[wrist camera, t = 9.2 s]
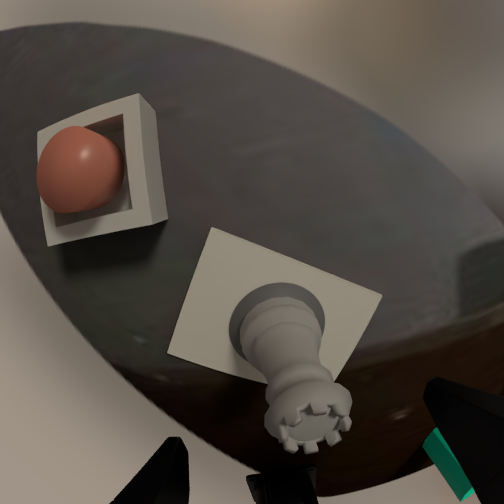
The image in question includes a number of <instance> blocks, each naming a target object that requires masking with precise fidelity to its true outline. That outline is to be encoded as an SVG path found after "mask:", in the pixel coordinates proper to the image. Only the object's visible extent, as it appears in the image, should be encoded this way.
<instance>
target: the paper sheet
mask: <svg viewBox="0 0 504 504" xmlns="http://www.w3.org/2000/svg"><path fill="white" fill-rule="evenodd" d="M278 297H290V298H293V299H296V300H299V301H303V302H304V303H305V304H306V305H307V306H308V307H309V308H310V309H311V310H313V312H314V314H315V317H316V318H317V320H318V323H319V326H320V328H321V331H322V338H321V348H320V349H319V355H318V356H319V359H320V363H321V365H323V366H324V367H325V368H327V369H328V370H329V371H330V372H331V374H332V377H333V379H334V381H335V379H336V378H337V376H338V374H339V373H340V371H341V370H342V368H343V366H344V365H345V363H346V362H347V360H348V358H349V357H350V355H351V353H352V352H353V350H354V348H355V346H356V345H357V343H358V341H359V339H360V338H361V336H362V334H363V332H364V330H365V329H366V327H367V325H368V323H369V321H370V319H371V317H372V315H373V314H374V312H375V310H376V308H377V306H378V304H379V302H380V300H381V298H382V295H381V294H379V293H376V292H374V291H372V290H369V289H367V288H364V287H362V286H359V285H357V284H354V283H352V282H349V281H347V280H344V279H342V278H340V277H337V276H335V275H332V274H330V273H327V272H325V271H322V270H320V269H317V268H315V267H312V266H310V265H307V264H305V263H302V262H300V261H297V260H295V259H292V258H290V257H287V256H285V255H282V254H280V253H277V252H275V251H272V250H269V249H267V248H264V247H262V246H259V245H257V244H254V243H252V242H249V241H247V240H244V239H242V238H239V237H236V236H234V235H231V234H229V233H226V232H224V231H221V230H219V229H216V228H213V227H212V228H211V230H210V233H209V235H208V238H207V240H206V243H205V246H204V248H203V251H202V254H201V256H200V259H199V262H198V264H197V267H196V270H195V273H194V275H193V278H192V281H191V284H190V287H189V289H188V292H187V295H186V298H185V301H184V304H183V307H182V310H181V312H180V315H179V318H178V321H177V324H176V327H175V330H174V333H173V336H172V339H171V343H170V346H169V349H168V352H167V353H168V354H171V355H174V356H177V357H179V358H182V359H185V360H188V361H191V362H194V363H197V364H200V365H203V366H206V367H209V368H212V369H215V370H218V371H222V372H225V373H228V374H232V375H235V376H239V377H243V378H246V379H250V380H254V381H258V382H262V383H266V384H268V383H267V380H266V378H265V376H264V374H262V373H261V372H260V371H258V370H257V369H256V368H254V367H253V366H251V365H250V363H249V362H248V360H247V358H246V356H245V355H244V353H243V351H242V345H241V343H240V328H241V325H242V323H243V321H244V318H245V316H246V315H247V314H248V313H249V312H250V311H251V310H252V309H253V308H254V307H255V306H256V305H257V304H259V303H262V302H264V301H266V300H268V299H271V298H278Z"/></svg>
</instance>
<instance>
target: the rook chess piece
mask: <svg viewBox="0 0 504 504" xmlns="http://www.w3.org/2000/svg"><path fill="white" fill-rule="evenodd" d="M321 338H322V331H321V328H320V326H319V323H318V320H317V318H316V317H315V314H314V312H313V310H311V309H310V308H309V307H308V306H307V305H306V304H305V303H304V302H303V301H299V300H296V299H293V298H290V297H278V298H271V299H268V300H266V301H264V302H262V303H259V304H257V305H256V306H255V307H254V308H253V309H252V310H251V311H250V312H249V313H248V314H247V315H246V316H245V318H244V321H243V323H242V325H241V328H240V343H241V345H242V351H243V353H244V355H245V356H246V358H247V360H248V362H249V363H250V365H251V366H253V367H254V368H256V369H257V370H258V371H260V372H261V373H262V374H264V376H265V378H266V380H267V383H268V386H267V388H266V400H267V402H268V403H269V405H270V407H269V409H268V410H267V412H266V414H265V428H266V429H267V430H268V432H269V433H270V434H271V435H272V436H274V437H276V438H278V440H279V443H283V447H284V450H286V451H288V452H291V453H295V452H296V451H297V450H298V446H297V445H300V446H303V448H304V451H305V454H310V453H316V452H318V446H317V444H316V443H318V442H321V441H323V440H325V439H326V440H327V443H328V444H329V445H330V446H331V447H332V446H333V445H335V444H336V443H337V442H339V441H340V440H342V439H341V436H340V434H339V432H338V431H339V429H340V428H341V431H349V429H350V426H351V423H352V421H351V419H350V418H349V416H348V415H349V412H350V408H351V405H352V399H351V396H350V393H349V391H348V390H347V389H345V388H344V387H343V386H341V385H340V384H337V383H334V379H333V377H332V374H331V372H330V371H329V370H328V369H327V368H325V367H324V366H323V365H321V363H320V359H319V356H318V355H319V349H320V348H321Z"/></svg>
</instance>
